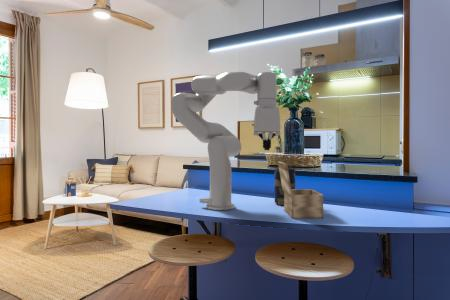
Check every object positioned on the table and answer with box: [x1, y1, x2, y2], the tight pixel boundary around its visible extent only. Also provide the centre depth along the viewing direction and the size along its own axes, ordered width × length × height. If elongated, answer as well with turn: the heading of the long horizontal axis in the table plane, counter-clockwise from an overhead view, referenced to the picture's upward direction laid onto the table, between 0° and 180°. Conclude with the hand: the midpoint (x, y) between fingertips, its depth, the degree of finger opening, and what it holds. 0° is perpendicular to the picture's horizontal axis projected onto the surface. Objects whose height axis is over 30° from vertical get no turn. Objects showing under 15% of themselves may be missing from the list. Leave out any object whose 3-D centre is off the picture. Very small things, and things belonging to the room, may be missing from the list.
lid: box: [277, 161, 292, 195], centre depth 130 cm, size 12×14×1 cm
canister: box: [274, 165, 296, 206], centre depth 151 cm, size 10×10×18 cm
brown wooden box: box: [283, 188, 324, 219], centre depth 131 cm, size 12×14×9 cm
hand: (266, 149), depth 130 cm, fingers closed
